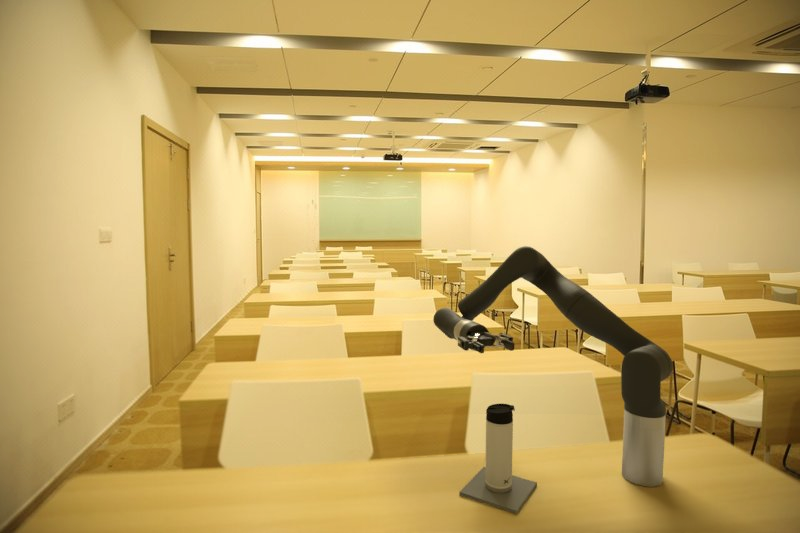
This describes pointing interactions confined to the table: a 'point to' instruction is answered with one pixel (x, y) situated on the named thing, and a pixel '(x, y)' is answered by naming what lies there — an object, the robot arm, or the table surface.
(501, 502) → the gray mat
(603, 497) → the table surface
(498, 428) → the travel mug
